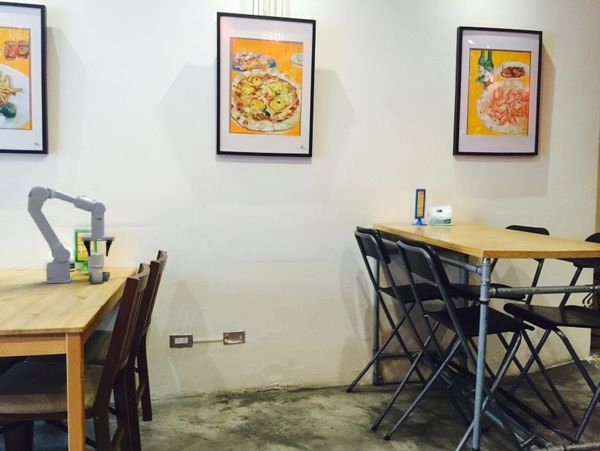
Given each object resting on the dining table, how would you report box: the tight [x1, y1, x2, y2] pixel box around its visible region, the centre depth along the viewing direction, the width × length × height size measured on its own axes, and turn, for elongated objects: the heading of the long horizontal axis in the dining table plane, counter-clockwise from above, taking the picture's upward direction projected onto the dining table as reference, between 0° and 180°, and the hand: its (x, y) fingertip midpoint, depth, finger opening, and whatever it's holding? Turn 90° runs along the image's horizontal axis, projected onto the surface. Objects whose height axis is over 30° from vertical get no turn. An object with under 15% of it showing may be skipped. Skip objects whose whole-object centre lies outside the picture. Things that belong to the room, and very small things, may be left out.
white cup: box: [86, 252, 105, 275], centre depth 251 cm, size 8×8×10 cm
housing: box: [88, 271, 111, 283], centre depth 236 cm, size 8×8×3 cm
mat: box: [89, 281, 105, 285], centre depth 228 cm, size 6×6×1 cm
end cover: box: [91, 265, 103, 283], centre depth 228 cm, size 5×5×7 cm
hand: (98, 256), depth 238 cm, fingers open, 7 cm apart
